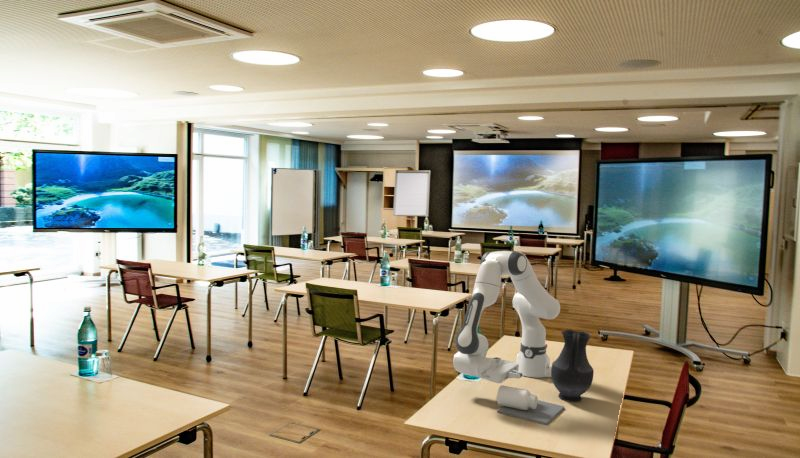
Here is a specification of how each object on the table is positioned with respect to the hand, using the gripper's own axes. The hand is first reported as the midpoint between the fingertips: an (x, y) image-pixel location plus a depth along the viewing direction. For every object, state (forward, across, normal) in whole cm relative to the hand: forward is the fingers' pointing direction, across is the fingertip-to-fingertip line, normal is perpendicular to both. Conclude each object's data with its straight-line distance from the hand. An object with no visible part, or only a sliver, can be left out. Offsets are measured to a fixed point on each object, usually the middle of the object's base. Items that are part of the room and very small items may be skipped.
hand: (521, 375), depth 241 cm
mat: (+5, 0, +13) cm, 14 cm away
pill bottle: (-7, -4, +8) cm, 12 cm away
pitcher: (+14, +23, +13) cm, 30 cm away
